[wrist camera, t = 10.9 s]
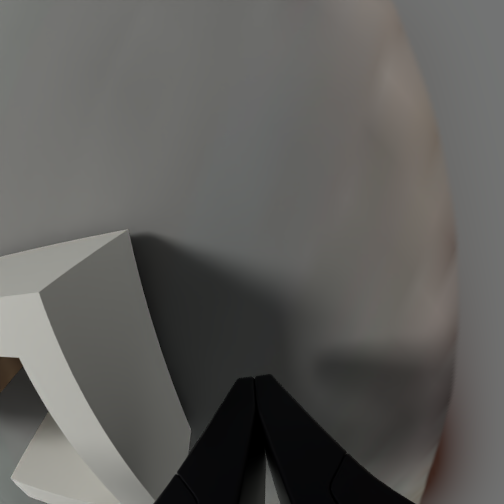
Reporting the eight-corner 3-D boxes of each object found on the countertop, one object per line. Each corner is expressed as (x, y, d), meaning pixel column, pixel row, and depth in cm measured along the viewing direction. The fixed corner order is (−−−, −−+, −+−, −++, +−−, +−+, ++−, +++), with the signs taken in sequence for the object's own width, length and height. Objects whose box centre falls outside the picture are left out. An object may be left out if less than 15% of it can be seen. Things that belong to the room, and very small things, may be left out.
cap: (191, 430, 10) (179, 528, 6) (63, 424, 10) (28, 496, 6) (128, 229, 8) (39, 292, 4) (-12, 259, 8) (-95, 307, 4)
